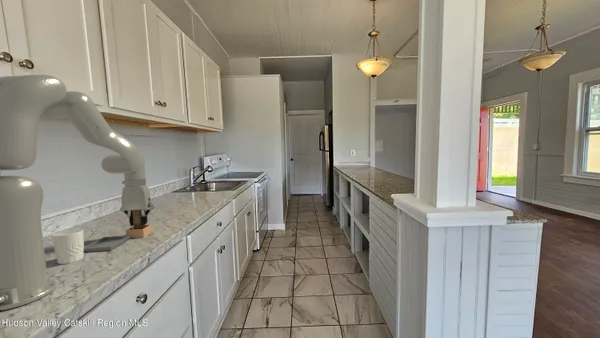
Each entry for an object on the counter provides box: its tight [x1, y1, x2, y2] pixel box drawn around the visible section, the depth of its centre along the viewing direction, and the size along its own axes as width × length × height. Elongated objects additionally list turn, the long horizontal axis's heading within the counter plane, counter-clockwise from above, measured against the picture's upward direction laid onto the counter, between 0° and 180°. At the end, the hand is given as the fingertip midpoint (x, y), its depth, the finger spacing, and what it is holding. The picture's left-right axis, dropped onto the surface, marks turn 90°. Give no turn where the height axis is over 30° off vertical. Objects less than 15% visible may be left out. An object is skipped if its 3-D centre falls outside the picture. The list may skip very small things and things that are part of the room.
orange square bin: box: [125, 224, 153, 239], centre depth 108 cm, size 7×7×4 cm
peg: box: [132, 210, 145, 230], centre depth 108 cm, size 4×4×12 cm
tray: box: [84, 235, 131, 253], centre depth 97 cm, size 12×10×2 cm
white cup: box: [51, 228, 85, 265], centre depth 85 cm, size 8×8×10 cm
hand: (138, 224), depth 108 cm, fingers closed on peg, 4 cm apart
